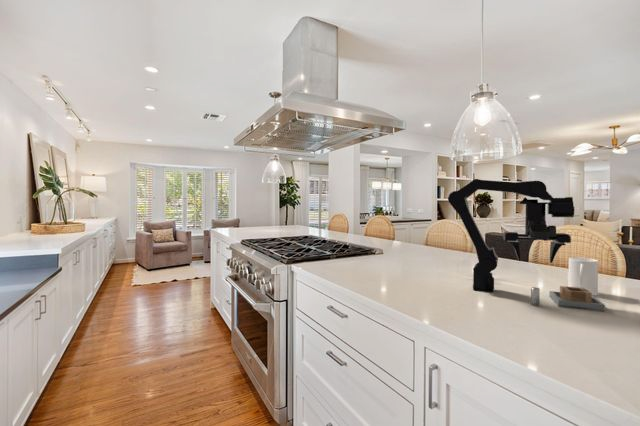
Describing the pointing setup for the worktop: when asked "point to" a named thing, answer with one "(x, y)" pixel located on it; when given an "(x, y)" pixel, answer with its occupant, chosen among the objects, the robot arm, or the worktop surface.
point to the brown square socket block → (575, 294)
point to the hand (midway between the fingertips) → (534, 261)
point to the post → (535, 296)
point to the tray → (576, 303)
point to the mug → (584, 274)
